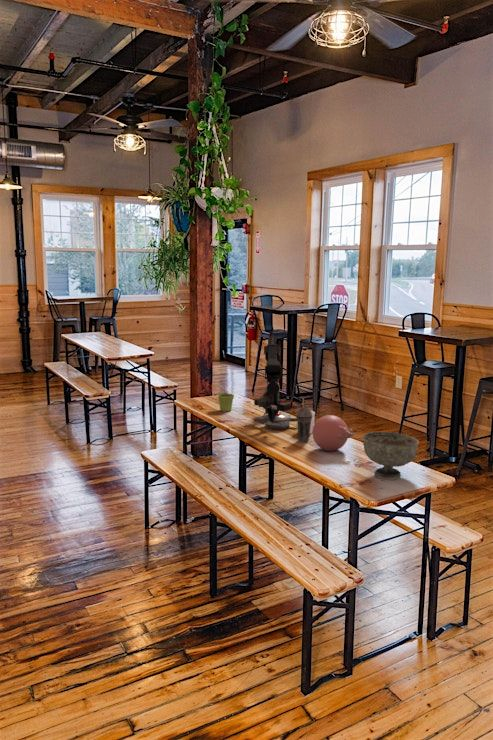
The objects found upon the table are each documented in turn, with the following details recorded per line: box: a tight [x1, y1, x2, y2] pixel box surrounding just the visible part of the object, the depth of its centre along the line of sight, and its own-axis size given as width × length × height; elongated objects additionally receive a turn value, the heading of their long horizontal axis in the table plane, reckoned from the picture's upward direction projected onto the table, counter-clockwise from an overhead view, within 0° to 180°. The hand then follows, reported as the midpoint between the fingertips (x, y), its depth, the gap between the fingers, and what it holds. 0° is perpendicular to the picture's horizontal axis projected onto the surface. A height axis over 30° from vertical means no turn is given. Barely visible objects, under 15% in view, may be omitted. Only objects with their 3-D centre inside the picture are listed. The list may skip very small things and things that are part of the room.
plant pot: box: [217, 393, 235, 413], centre depth 320 cm, size 9×9×9 cm
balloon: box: [312, 414, 354, 452], centre depth 249 cm, size 15×20×15 cm
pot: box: [253, 417, 297, 431], centre depth 289 cm, size 12×23×4 cm, turn 92°
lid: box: [256, 411, 292, 425], centre depth 285 cm, size 21×13×2 cm, turn 142°
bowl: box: [362, 431, 420, 481], centre depth 221 cm, size 20×19×15 cm
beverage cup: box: [295, 397, 312, 443], centre depth 264 cm, size 7×7×20 cm
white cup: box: [309, 410, 316, 435], centre depth 279 cm, size 8×8×10 cm
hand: (271, 421), depth 277 cm, fingers closed
